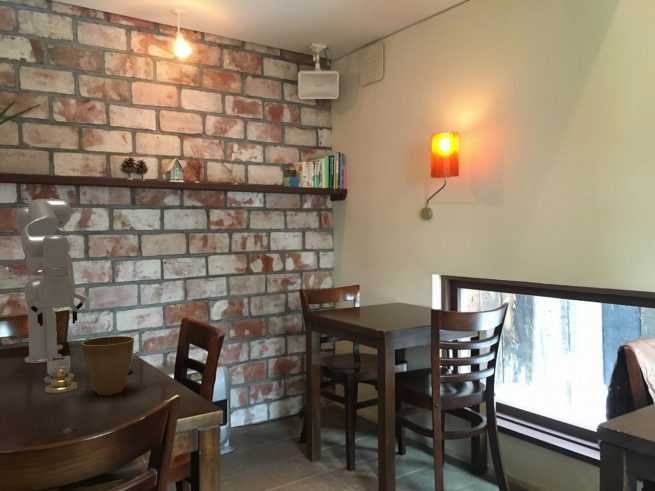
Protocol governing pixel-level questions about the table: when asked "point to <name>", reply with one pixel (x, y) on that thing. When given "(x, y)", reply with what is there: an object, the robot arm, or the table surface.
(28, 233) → the robot arm
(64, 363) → the square sleeve
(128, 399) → the table surface
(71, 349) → the table surface
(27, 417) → the table surface
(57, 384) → the hub
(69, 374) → the stand
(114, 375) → the plant pot
